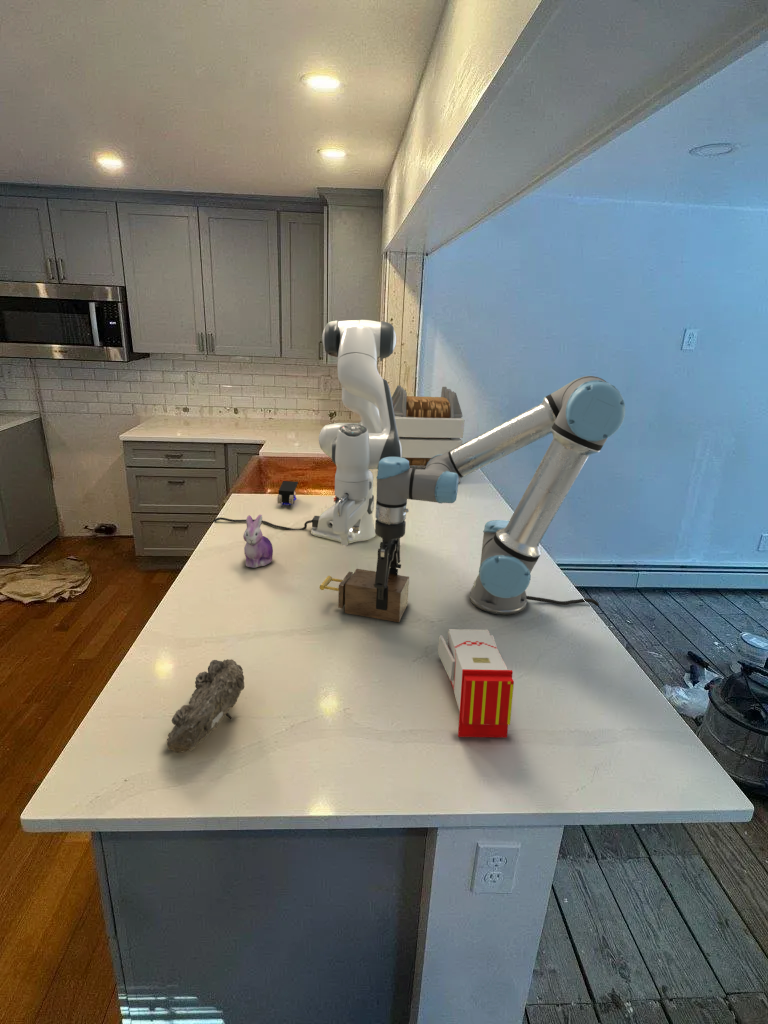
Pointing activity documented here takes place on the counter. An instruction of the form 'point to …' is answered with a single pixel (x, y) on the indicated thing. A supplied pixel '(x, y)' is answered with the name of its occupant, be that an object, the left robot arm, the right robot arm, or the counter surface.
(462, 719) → the toy
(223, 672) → the fossil
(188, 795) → the counter surface
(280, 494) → the figurine character
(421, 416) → the transformer
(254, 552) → the figurine
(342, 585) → the drawer
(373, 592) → the wooden drawer cabinet
